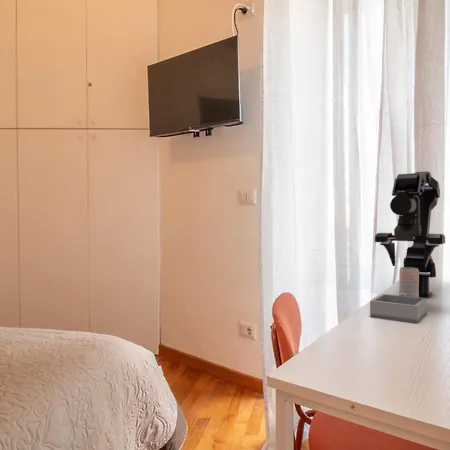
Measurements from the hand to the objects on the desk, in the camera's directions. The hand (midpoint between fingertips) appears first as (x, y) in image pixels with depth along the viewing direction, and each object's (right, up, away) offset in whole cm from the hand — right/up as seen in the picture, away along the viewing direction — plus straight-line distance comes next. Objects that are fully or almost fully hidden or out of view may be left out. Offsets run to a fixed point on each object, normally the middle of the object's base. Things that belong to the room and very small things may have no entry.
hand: (408, 266), depth 122 cm
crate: (-7, -13, -9) cm, 17 cm away
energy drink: (0, -13, 0) cm, 13 cm away
